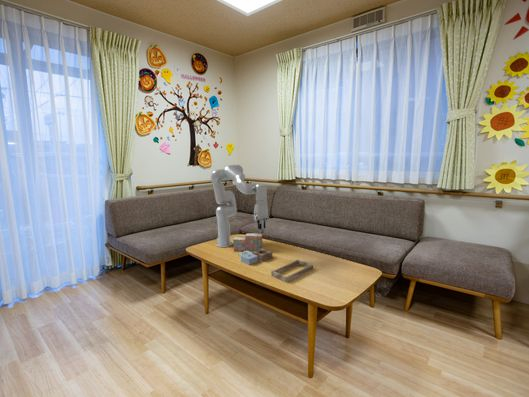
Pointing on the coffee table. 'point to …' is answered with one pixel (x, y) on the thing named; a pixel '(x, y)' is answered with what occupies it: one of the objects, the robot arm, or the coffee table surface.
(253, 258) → the block
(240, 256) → the tray
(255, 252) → the square-holed wooden block
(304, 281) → the coffee table surface
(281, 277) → the rectangular wooden corral frame
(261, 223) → the cylinder
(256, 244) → the stack of blocks
